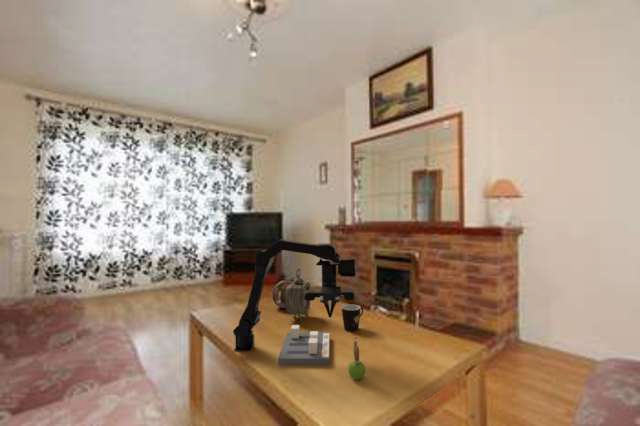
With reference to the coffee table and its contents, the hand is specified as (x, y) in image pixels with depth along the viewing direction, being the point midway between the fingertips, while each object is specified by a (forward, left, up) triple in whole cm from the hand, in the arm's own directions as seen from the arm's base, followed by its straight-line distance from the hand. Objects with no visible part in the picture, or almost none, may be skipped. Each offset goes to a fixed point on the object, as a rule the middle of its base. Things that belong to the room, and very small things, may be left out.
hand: (330, 317), depth 125 cm
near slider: (-6, -7, -10) cm, 14 cm away
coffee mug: (+11, +23, -13) cm, 29 cm away
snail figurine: (+9, -20, -13) cm, 25 cm away
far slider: (-14, +7, -10) cm, 19 cm away
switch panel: (-9, 0, -13) cm, 16 cm away
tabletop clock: (-16, +37, -13) cm, 43 cm away
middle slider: (-6, 0, -10) cm, 12 cm away
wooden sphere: (-25, +56, -13) cm, 63 cm away
